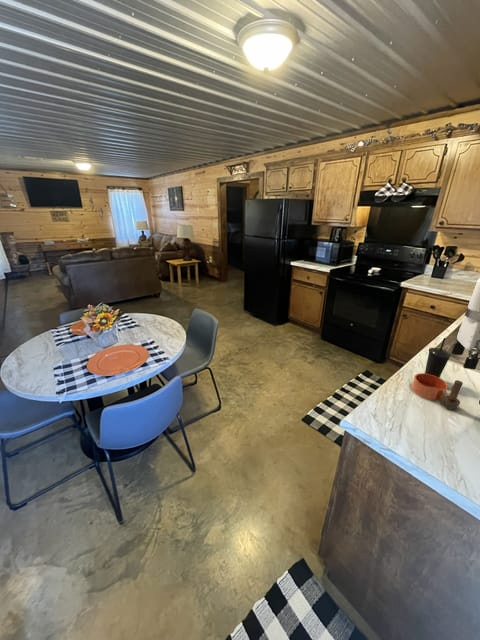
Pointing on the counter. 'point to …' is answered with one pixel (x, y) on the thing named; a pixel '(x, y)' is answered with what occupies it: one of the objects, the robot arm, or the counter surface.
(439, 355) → the drinking cup
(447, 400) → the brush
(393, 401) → the counter surface
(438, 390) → the bowl
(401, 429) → the counter surface
